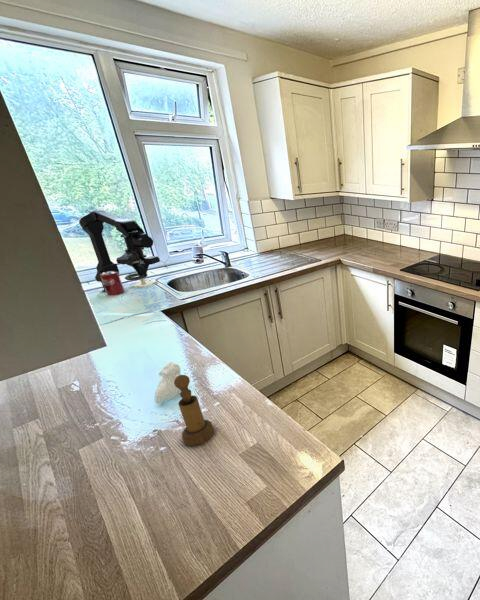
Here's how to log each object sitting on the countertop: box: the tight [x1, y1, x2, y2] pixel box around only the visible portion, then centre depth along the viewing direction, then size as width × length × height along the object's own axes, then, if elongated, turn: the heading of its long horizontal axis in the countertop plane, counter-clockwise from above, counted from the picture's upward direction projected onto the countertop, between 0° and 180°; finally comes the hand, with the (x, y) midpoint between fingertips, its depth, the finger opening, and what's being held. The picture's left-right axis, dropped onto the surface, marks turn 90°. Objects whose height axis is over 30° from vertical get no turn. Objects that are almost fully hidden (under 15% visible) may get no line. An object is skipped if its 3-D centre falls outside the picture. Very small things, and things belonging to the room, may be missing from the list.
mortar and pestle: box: [174, 374, 214, 447], centre depth 79 cm, size 7×6×18 cm
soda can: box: [100, 271, 126, 296], centre depth 172 cm, size 7×7×12 cm
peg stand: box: [129, 278, 158, 288], centre depth 185 cm, size 9×9×8 cm
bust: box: [154, 361, 182, 405], centre depth 96 cm, size 12×8×11 cm
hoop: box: [124, 272, 148, 281], centre depth 169 cm, size 9×9×2 cm
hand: (143, 276), depth 168 cm, fingers closed on hoop, 1 cm apart
